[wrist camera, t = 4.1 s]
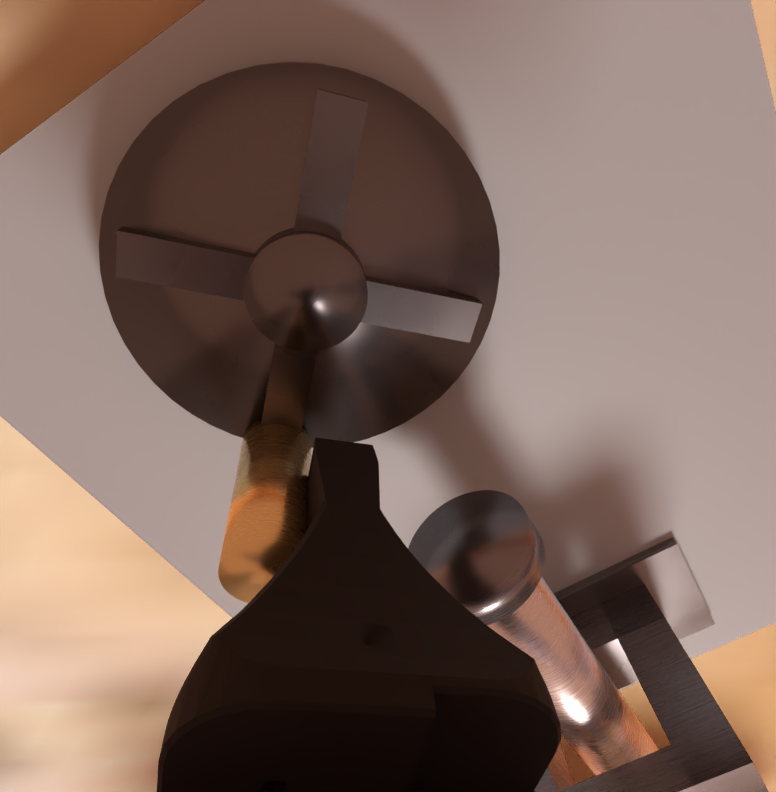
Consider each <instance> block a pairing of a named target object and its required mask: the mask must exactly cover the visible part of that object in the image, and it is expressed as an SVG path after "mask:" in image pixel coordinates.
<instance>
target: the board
mask: <svg viewBox="0 0 776 792" xmlns="http://www.w3.org/2000/svg"><path fill="white" fill-rule="evenodd" d="M288 61H289V62H311V63H321V64H326V65H331V66H336V67H341V68H346V69H349V70H352V71H355V72H358V73H360V74H363V75H366V76H369V77H372V78H374V79H376V80H378V81H380V82H382V83H384V84H386V85H388V86H389V87H391V88H393V89H395V90H397V91H399V92H401V93H402V94H404V95H405V96H407V97H408V98H410V99H411V100H412V101H414V102H415V103H417V104H418V105H419V106H421V107H422V108H424V109H425V110H426V111H428V112H429V113H430V114H431V115H432V116H433V117H434V118H435V119H436V120H437V121H438V122H439V123H440V124H441V125H442V126H443V127H444V128H446V129H447V130H448V132H449V133H450V134H451V135H452V137H453V138H454V139H455V140H456V142H457V143H458V144H459V145H460V147H461V148H462V149H463V150H464V152H465V153H466V155H467V156H468V158H469V160H470V161H471V163H472V165H473V166H474V168H475V170H476V171H477V173H478V175H479V177H480V179H481V181H482V184H483V186H484V188H485V191H486V193H487V196H488V198H489V200H490V204H491V207H492V211H493V215H494V219H495V222H496V226H497V234H498V242H499V249H500V276H499V283H498V290H497V298H496V302H495V306H494V309H493V313H492V317H491V320H490V323H489V326H488V328H487V330H486V333H485V335H484V338H483V340H482V342H481V344H480V346H479V348H478V349H477V351H476V353H475V355H474V356H473V358H472V360H471V362H470V363H469V365H468V366H467V367H466V369H465V370H464V371H463V373H462V374H461V375H460V377H459V378H458V379H457V381H456V382H455V383H454V384H453V385H452V386H451V387H450V388H449V389H448V390H447V391H446V392H445V393H444V394H443V395H442V396H441V397H440V398H439V399H438V400H436V401H435V402H434V403H433V404H431V405H430V406H429V407H428V408H427V409H425V410H424V411H423V412H421V413H419V414H418V415H416V416H415V417H413V418H412V419H410V420H409V421H407V422H405V423H403V424H401V425H399V426H397V427H395V428H393V429H391V430H389V431H387V432H385V433H382V434H379V435H377V436H374V437H371V438H368V439H366V440H361V441H357V442H354V443H362V444H369V445H373V447H374V450H375V452H376V456H377V459H378V462H379V488H380V510H381V511H382V513H383V514H384V516H385V517H386V519H387V520H388V522H389V523H390V525H391V526H392V528H393V529H394V531H395V532H396V534H397V535H398V536H399V538H400V539H401V540H402V542H403V543H404V544H405V546H406V547H407V548H408V547H409V544H410V542H411V540H412V538H413V536H414V534H415V533H416V531H417V530H418V528H419V527H420V525H421V524H422V523H423V522H424V521H425V519H426V518H427V517H428V516H429V515H430V514H431V513H433V512H434V511H435V510H436V509H437V508H439V507H440V506H442V505H443V504H444V503H446V502H448V501H450V500H451V499H453V498H455V497H458V496H460V495H463V494H466V493H469V492H473V491H479V490H494V491H499V492H503V493H506V494H508V495H510V496H512V497H513V498H515V499H516V500H517V501H518V502H519V503H520V504H521V505H522V507H523V508H524V510H525V511H526V513H527V515H528V516H529V518H530V519H531V521H532V522H533V524H534V525H535V527H536V529H537V530H538V532H539V533H540V535H541V537H542V539H543V542H544V546H545V556H546V559H545V567H544V570H543V574H542V577H543V579H544V580H545V582H546V583H547V585H548V586H549V588H550V589H551V591H552V592H553V593H556V592H558V591H560V590H562V589H564V588H566V587H568V586H570V585H572V584H574V583H577V582H579V581H581V580H583V579H585V578H587V577H589V576H591V575H593V574H596V573H598V572H600V571H602V570H604V569H606V568H608V567H610V566H612V565H615V564H617V563H619V562H621V561H623V560H625V559H627V558H629V557H631V556H633V555H636V554H638V553H640V552H642V551H644V550H646V549H648V548H650V547H652V546H655V545H657V544H659V543H661V542H663V541H665V540H667V539H669V538H671V537H673V539H674V540H675V541H676V543H677V544H678V546H679V549H680V551H681V553H682V555H683V557H684V559H685V561H686V563H687V565H688V567H689V570H690V572H691V574H692V576H693V578H694V580H695V582H696V584H697V586H698V589H699V591H700V593H701V595H702V597H703V599H704V601H705V603H706V605H707V608H708V610H709V612H710V614H711V616H712V618H713V620H714V622H715V624H714V625H712V626H710V627H707V628H705V629H703V630H701V631H698V632H696V633H694V634H692V635H689V636H687V637H685V638H683V639H680V640H679V641H680V643H681V645H682V646H683V648H684V650H685V651H686V653H687V655H688V656H689V658H690V659H692V658H695V657H697V656H699V655H702V654H704V653H706V652H709V651H711V650H713V649H715V648H718V647H720V646H722V645H725V644H727V643H729V642H732V641H734V640H736V639H739V638H741V637H743V636H745V635H748V634H750V633H752V632H755V631H757V630H759V629H762V628H764V627H766V626H769V625H771V624H773V623H775V622H776V111H775V107H774V103H773V98H772V94H771V89H770V85H769V80H768V76H767V71H766V67H765V63H764V58H763V54H762V49H761V45H760V40H759V36H758V31H757V27H756V23H755V18H754V14H753V9H752V5H751V0H205V1H203V2H202V3H201V4H199V5H198V6H197V7H195V8H194V9H193V10H191V11H190V12H189V13H187V14H186V15H185V16H183V17H182V18H181V19H179V20H178V21H177V22H175V23H174V24H173V25H171V26H170V27H169V28H167V29H166V30H165V31H163V32H162V33H161V34H159V35H158V36H157V37H155V38H154V39H153V40H152V41H150V42H149V43H148V44H146V45H145V46H144V47H142V48H141V49H140V50H138V51H137V52H136V53H134V54H133V55H132V56H130V57H129V58H128V59H126V60H125V61H124V62H122V63H121V64H120V65H118V66H117V67H116V68H114V69H113V70H112V71H110V72H109V73H108V74H106V75H105V76H104V77H103V78H101V79H100V80H99V81H97V82H96V83H95V84H93V85H92V86H91V87H89V88H88V89H87V90H85V91H84V92H83V93H81V94H80V95H79V96H77V97H76V98H75V99H73V100H72V101H71V102H69V103H68V104H67V105H65V106H64V107H63V108H61V109H60V110H59V111H57V112H56V113H55V114H54V115H52V116H51V117H50V118H48V119H47V120H46V121H44V122H43V123H42V124H40V125H39V126H38V127H36V128H35V129H34V130H32V131H31V132H30V133H28V134H27V135H26V136H24V137H23V138H22V139H20V140H19V141H18V142H16V143H15V144H14V145H12V146H11V147H10V148H8V149H7V150H6V151H4V152H3V153H2V154H1V155H0V416H1V417H2V418H4V419H5V420H6V421H7V422H8V423H9V424H10V425H12V426H13V427H14V428H15V429H16V430H17V431H19V432H20V433H21V434H22V435H23V436H24V437H25V438H27V439H28V440H29V441H30V442H31V443H32V444H33V445H35V446H36V447H37V448H38V449H39V450H40V451H41V452H43V453H44V454H45V455H46V456H47V457H48V458H50V459H51V460H52V461H53V462H54V463H55V464H56V465H58V466H59V467H60V468H61V469H62V470H63V471H64V472H66V473H67V474H68V475H69V476H70V477H71V478H72V479H74V480H75V481H76V482H77V483H78V484H79V485H81V486H82V487H83V488H84V489H85V490H86V491H87V492H89V493H90V494H91V495H92V496H93V497H94V498H95V499H97V500H98V501H99V502H100V503H101V504H102V505H103V506H105V507H106V508H107V509H108V510H109V511H110V512H112V513H113V514H114V515H115V516H116V517H117V518H118V519H120V520H121V521H122V522H123V523H124V524H125V525H126V526H128V527H129V528H130V529H131V530H132V531H133V532H134V533H136V534H137V535H138V536H139V537H140V538H141V539H143V540H144V541H145V542H146V543H147V544H148V545H149V546H151V547H152V548H153V549H154V550H155V551H156V552H157V553H159V554H160V555H161V556H162V557H163V558H164V559H165V560H167V561H168V562H169V563H170V564H171V565H172V566H174V567H175V568H176V569H177V570H178V571H179V572H180V573H182V574H183V575H184V576H185V577H186V578H187V579H188V580H190V581H191V582H192V583H193V584H194V585H195V586H196V587H198V588H199V589H200V590H201V591H202V592H203V593H204V594H206V595H207V596H208V597H209V598H210V599H211V600H213V601H214V602H215V603H216V604H217V605H218V606H219V607H221V608H222V609H223V610H224V611H225V612H226V613H227V614H229V615H230V616H231V617H232V618H233V617H234V616H235V615H237V614H238V613H239V612H240V611H241V610H242V609H243V608H244V607H245V606H246V605H247V604H248V603H246V602H243V601H241V600H239V599H236V598H235V597H233V596H232V595H230V594H229V593H228V592H227V591H226V590H225V589H224V588H223V586H222V585H221V583H220V580H219V576H218V568H219V563H220V558H221V552H222V547H223V542H224V537H225V531H226V526H227V521H228V515H229V510H230V505H231V500H232V494H233V489H234V484H235V478H236V473H237V468H238V463H239V457H240V452H241V447H242V441H243V438H241V437H238V436H235V435H232V434H230V433H227V432H225V431H223V430H221V429H218V428H216V427H214V426H211V425H210V424H208V423H206V422H204V421H203V420H201V419H199V418H197V417H196V416H194V415H192V414H191V413H189V412H188V411H186V410H185V409H184V408H182V407H181V406H180V405H178V404H177V403H176V402H174V401H173V400H172V399H170V398H169V397H168V396H167V395H166V394H165V393H164V392H163V391H162V390H161V389H160V388H159V387H158V386H156V385H155V384H154V383H153V381H152V380H151V379H150V378H149V377H148V376H147V374H146V373H145V372H144V371H143V370H142V369H141V367H140V366H139V365H138V364H137V362H136V361H135V359H134V358H133V356H132V355H131V353H130V351H129V350H128V348H127V347H126V345H125V344H124V342H123V340H122V338H121V336H120V334H119V332H118V330H117V328H116V326H115V324H114V322H113V319H112V316H111V313H110V310H109V307H108V304H107V301H106V298H105V294H104V289H103V284H102V279H101V274H100V260H99V236H100V225H101V217H102V213H103V209H104V205H105V200H106V196H107V192H108V190H109V187H110V185H111V182H112V180H113V178H114V175H115V173H116V170H117V168H118V166H119V164H120V162H121V161H122V159H123V157H124V156H125V154H126V152H127V151H128V149H129V148H130V146H131V144H132V143H133V141H134V140H135V139H136V138H137V137H138V135H139V134H140V133H141V132H142V131H143V129H144V128H145V127H146V126H147V125H148V123H149V122H150V121H151V120H152V119H153V118H154V117H155V116H157V115H158V114H159V113H160V112H161V111H162V110H164V109H165V108H166V107H167V106H168V105H169V104H170V103H172V102H173V101H174V100H176V99H177V98H179V97H181V96H182V95H184V94H185V93H187V92H189V91H190V90H192V89H193V88H195V87H196V86H198V85H200V84H203V83H205V82H207V81H210V80H212V79H214V78H217V77H219V76H221V75H224V74H226V73H229V72H232V71H236V70H240V69H244V68H248V67H252V66H255V65H259V64H268V63H278V62H288ZM312 452H313V448H312ZM311 458H312V454H311ZM637 682H639V681H637ZM637 682H635V683H637ZM635 683H633V684H635ZM630 685H632V684H630ZM630 685H628V686H630ZM628 686H626V687H628ZM626 687H623V688H626ZM623 688H621V689H623ZM621 689H619V690H621Z"/></svg>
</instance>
